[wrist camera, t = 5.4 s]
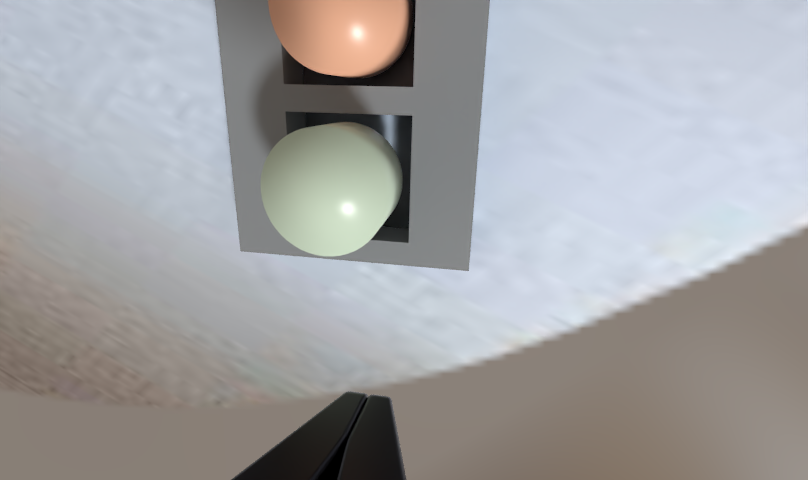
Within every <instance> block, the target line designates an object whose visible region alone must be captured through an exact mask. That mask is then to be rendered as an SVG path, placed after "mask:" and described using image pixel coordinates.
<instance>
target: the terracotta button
mask: <svg viewBox="0 0 808 480" xmlns="http://www.w3.org/2000/svg"><path fill="white" fill-rule="evenodd" d="M268 6H269V13H270V17H271V22H272V24H273V27H274V30H275V32H276V34H277V36H278V38H279V40H280V42H281V43H282V45H283V46H284V48H285V49H286V50H287V51H288V53H289V54H290V55H291V56H292V57H293V58H294V59H295V60H297V61H298V62H299V63H301V64H302V65H303V66H305V67H307V68H309V69H311V70H313V71H316V72H319V73H323V74H328V75H334V76H341V77H347V78H356V79H362V78H369V77H373V76H376V75H378V74H380V73H382V72H384V71H386V70H387V69H389V68H390V67H391V66H392V65H393V64H394V63H395V62H396V61H397V60H398V59H399V58H400V56H401V55H402V53H403V52H404V50H405V48H406V46H407V44H408V42H409V39H410V36H411V32H412V27H413V5H412V0H268Z"/></svg>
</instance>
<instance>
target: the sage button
mask: <svg viewBox="0 0 808 480" xmlns="http://www.w3.org/2000/svg"><path fill="white" fill-rule="evenodd" d="M402 185H403V174H402V169H401V165H400V161H399V159H398V157H397V154H396V152H395V151H394V149H393V147H392V146H391V145H390V143H389V142H388V141H387V140H386V139H385V138H384V137H383V136H382V135H381V134H379V133H378V132H377V131H375V130H373V129H372V128H370V127H368V126H365V125H363V124H359V123H355V122H337V123H331V124H325V125H319V126H313V127H307V128H302V129H299V130H296V131H294V132H292V133H290V134H288V135H287V136H285V137H284V138H282V139H281V140H280V141H279V142H278V143H277V144H276V145H275V146H274V147H273V149H272V150H271V151H270V153H269V155H268V156H267V158H266V161H265V163H264V166H263V170H262V174H261V196H262V201H263V205H264V208H265V211H266V213H267V215H268V217H269V219H270V221H271V223H272V224H273V226H274V227H275V228H276V230H277V231H278V232H279V233H280V234H281V235H282V236H283V237H284V238H285V239H286V240H287V241H288V242H290V243H291V244H292V245H294V246H295V247H297V248H299V249H301V250H303V251H305V252H308V253H311V254H314V255H319V256H332V257H333V256H341V255H345V254H349V253H351V252H354V251H356V250H358V249H359V248H361V247H363V246H364V245H365V244H366V243H368V242H369V241H370V240H371V239H372V238H373V237H374V235H375V234H376V233H377V231H378V230H379V229H380V228H381V226H382V225H383V224H384V222H385V221H386V220H387V219H388V217H389V216H390V215H391V213H392V212H393V211H394V209H395V208H396V206H397V204H398V202H399V199H400V196H401V192H402Z"/></svg>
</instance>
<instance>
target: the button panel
mask: <svg viewBox="0 0 808 480" xmlns="http://www.w3.org/2000/svg"><path fill="white" fill-rule="evenodd" d="M489 3H490V0H416V9H415V43H414V77H413V87H389V86H345V85H304V76H303V65H302V64H301V63H299V62H298V61H297V60H295V59H294V58H293V57H292V56H291V55H290V54H289V53H288V51H287V50H286V49H285V48H284V46H283V45H282V43H281V42H280V40H279V38H278V36H277V34H276V32H275V30H274V27H273V24H272V22H271V17H270V13H269V6H268V0H215V6H216V16H217V25H218V35H219V45H220V55H221V65H222V74H223V84H224V94H225V104H226V113H227V123H228V133H229V143H230V152H231V162H232V172H233V182H234V191H235V201H236V211H237V221H238V231H239V240H240V250H241V251H244V252H256V253H268V254H279V255H291V256H302V257H314V258H325V259H337V260H348V261H360V262H371V263H383V264H394V265H406V266H417V267H429V268H440V269H452V270H463V271H469V259H470V246H471V233H472V220H473V207H474V195H475V182H476V169H477V156H478V144H479V131H480V118H481V105H482V92H483V80H484V67H485V54H486V41H487V28H488V16H489ZM305 112H318V113H348V114H379V115H409V116H412V145H411V178H410V212H409V228H396V227H382V226H381V228H380V229H379V230H378V231H377V233H376V234H375V235H374V237H373V238H372V239H371V240H370V241H369V242H368V243H366V244H365V245H364V246H363V247H361V248H359V249H358V250H356V251H354V252H351V253H349V254H345V255H341V256H333V257H332V256H319V255H314V254H311V253H308V252H305V251H303V250H301V249H299V248H297V247H295V246H294V245H292V244H291V243H290V242H288V241H287V240H286V239H285V238H284V237H283V236H282V235H281V234H280V233H279V232H278V231H277V230H276V228H275V227H274V226H273V224H272V223H271V221H270V219H269V217H268V215H267V213H266V211H265V208H264V205H263V201H262V196H261V174H262V170H263V166H264V163H265V161H266V158H267V156H268V155H269V153H270V151H271V150H272V149H273V147H274V146H275V145H276V144H277V143H278V142H279V141H280V140H281V139H282V138H284V137H285V136H287V135H288V134H290V133H292V132H294V131H296V130H299V129H302V128H306V119H305Z"/></svg>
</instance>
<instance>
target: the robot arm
mask: <svg viewBox="0 0 808 480" xmlns="http://www.w3.org/2000/svg"><path fill="white" fill-rule="evenodd" d="M232 480H406V476H405V470H404V465H403V459H402V454H401V448H400V443H399V438H398V432H397V427H396V422H395V416H394V411H393V406H392V400H391V398H390V397H386V396H379V395H370V396H369V397H368V395H367V394H365V393H358V392H346V393H344V394H343V395H341V396H340V397H339V398H337V399H336V400H335V401H334V402H332V403H331V404H330V405H328V406H327V407H326V408H324V409H323V410H322V411H320V412H319V413H318V414H317V415H315V416H314V417H313V418H312V419H310V420H309V421H307V422H306V423H305V424H303V425H302V426H301V427H300V428H298V429H297V430H296V431H294V432H293V433H292V434H290V435H289V436H288V437H286V438H285V439H284V440H283V441H281V442H280V443H279V444H277V445H276V446H275V447H273V448H272V449H271V450H269V451H268V452H267V453H265V454H264V455H263V456H262V457H260V458H259V459H258V460H256V461H255V462H254V463H252V464H251V465H250V466H249V467H247V468H246V469H245V470H243V471H242V472H241V473H239V474H238V475H237V476H235V477H234V478H233V479H232Z"/></svg>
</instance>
